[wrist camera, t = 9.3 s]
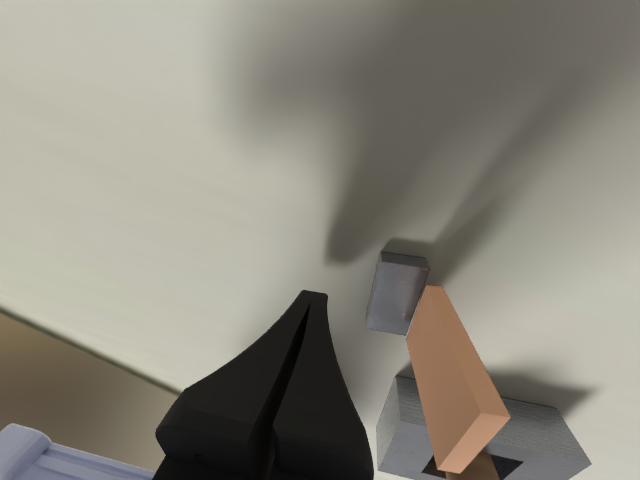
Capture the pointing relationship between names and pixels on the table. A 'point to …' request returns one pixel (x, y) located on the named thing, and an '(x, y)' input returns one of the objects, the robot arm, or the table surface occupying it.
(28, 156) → the table surface
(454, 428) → the tan flat block
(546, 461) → the block
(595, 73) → the table surface
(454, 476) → the peg
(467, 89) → the table surface
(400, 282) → the base
